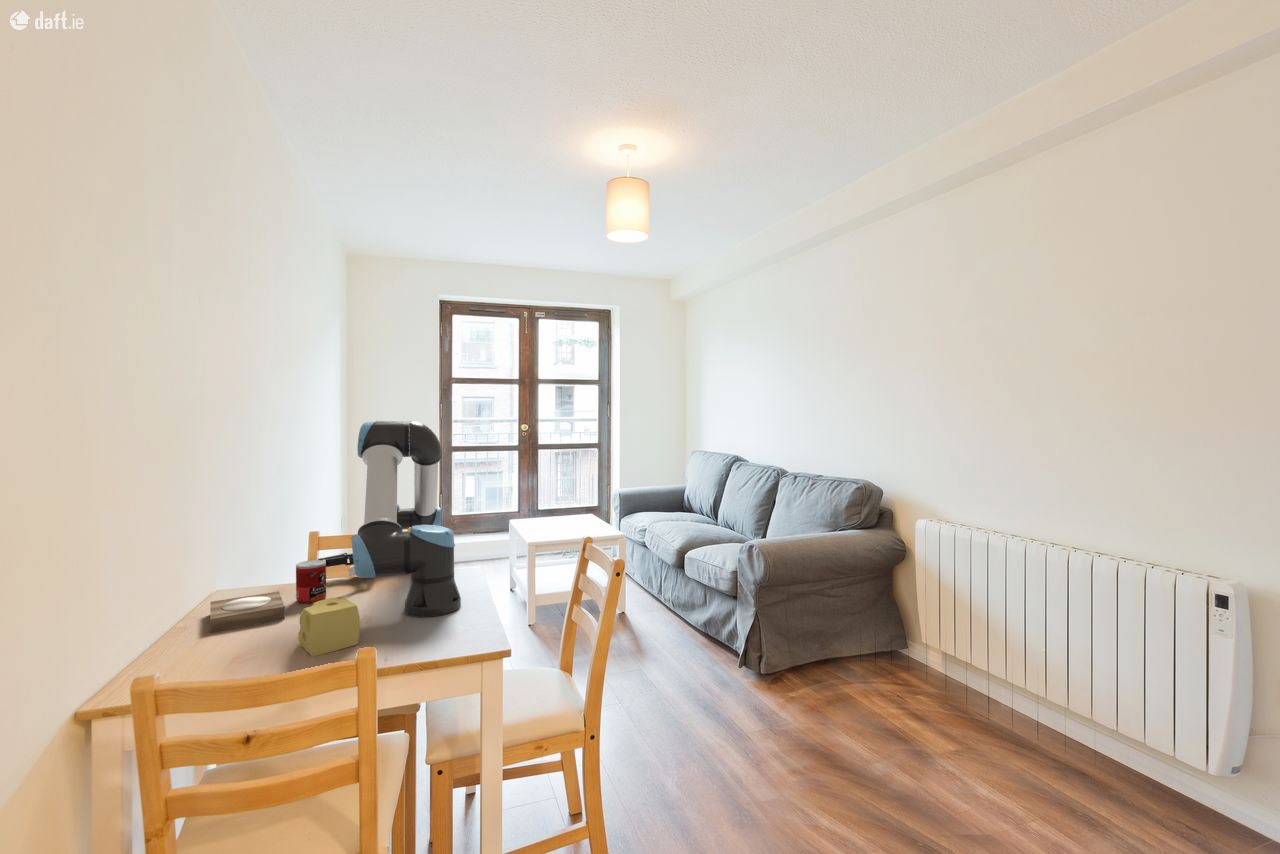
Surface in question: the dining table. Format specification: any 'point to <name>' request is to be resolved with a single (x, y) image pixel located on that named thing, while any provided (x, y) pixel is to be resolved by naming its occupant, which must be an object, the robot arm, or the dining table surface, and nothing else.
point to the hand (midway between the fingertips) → (330, 570)
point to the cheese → (329, 626)
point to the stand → (246, 611)
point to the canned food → (310, 581)
